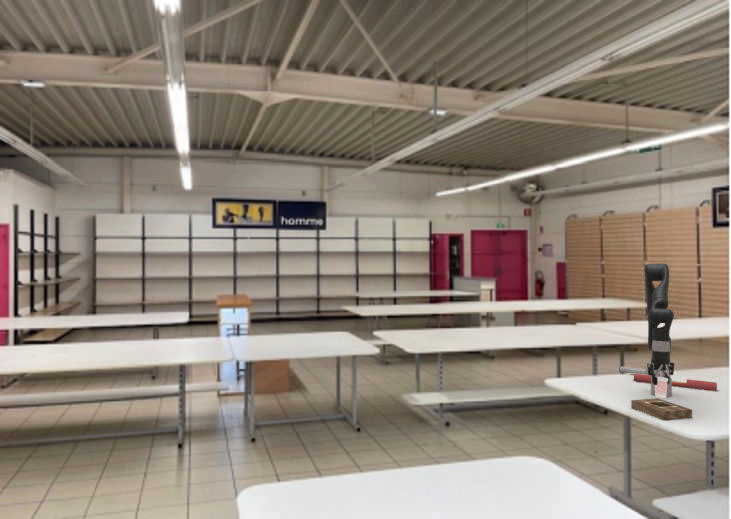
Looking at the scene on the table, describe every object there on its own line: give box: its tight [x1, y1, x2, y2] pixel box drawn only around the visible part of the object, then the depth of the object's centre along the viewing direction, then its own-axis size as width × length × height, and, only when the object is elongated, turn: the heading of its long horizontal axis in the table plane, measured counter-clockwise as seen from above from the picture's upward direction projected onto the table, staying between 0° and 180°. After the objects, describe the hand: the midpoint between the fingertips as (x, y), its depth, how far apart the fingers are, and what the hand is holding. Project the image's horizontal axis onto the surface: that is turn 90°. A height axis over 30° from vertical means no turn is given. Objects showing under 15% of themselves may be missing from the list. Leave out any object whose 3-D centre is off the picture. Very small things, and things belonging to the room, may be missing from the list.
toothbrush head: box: [618, 365, 648, 375], centre depth 328 cm, size 5×7×25 cm
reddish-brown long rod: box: [633, 373, 718, 392], centre depth 301 cm, size 42×5×5 cm, turn 57°
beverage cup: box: [654, 371, 668, 399], centre depth 246 cm, size 6×6×14 cm
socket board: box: [630, 397, 693, 421], centre depth 246 cm, size 16×20×4 cm
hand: (660, 384), depth 246 cm, fingers closed on beverage cup, 6 cm apart
